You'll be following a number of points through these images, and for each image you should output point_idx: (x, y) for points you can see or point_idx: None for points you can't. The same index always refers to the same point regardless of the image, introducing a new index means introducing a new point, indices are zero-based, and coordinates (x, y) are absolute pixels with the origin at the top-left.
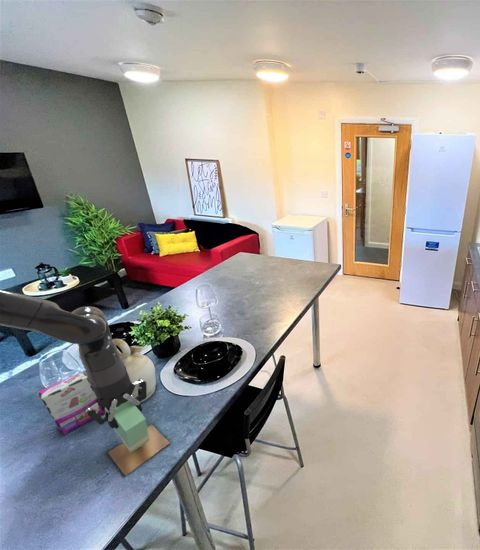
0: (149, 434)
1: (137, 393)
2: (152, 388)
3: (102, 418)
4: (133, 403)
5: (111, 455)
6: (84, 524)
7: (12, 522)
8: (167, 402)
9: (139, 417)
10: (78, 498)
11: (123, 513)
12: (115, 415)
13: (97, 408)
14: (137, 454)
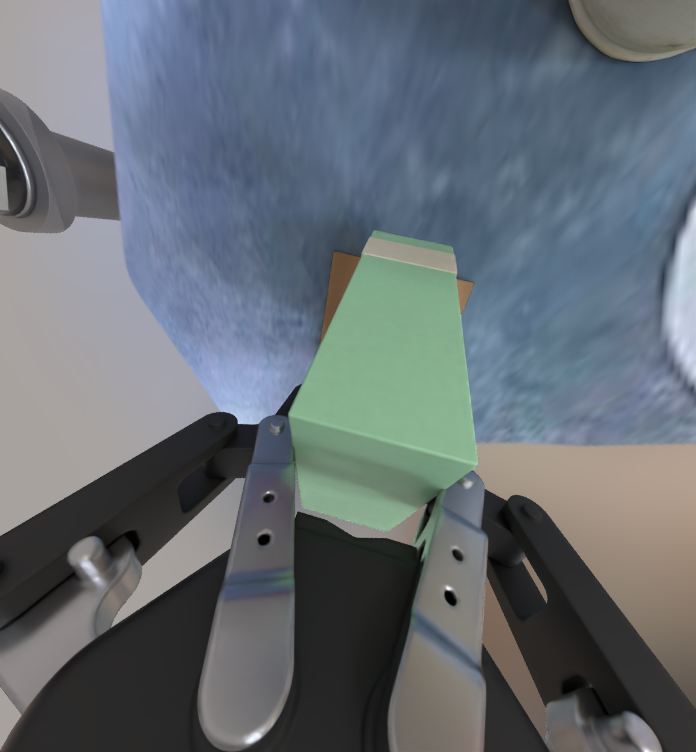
0: None
1: (685, 4)
2: None
3: (216, 490)
4: (416, 534)
5: (332, 276)
6: (229, 384)
7: (130, 226)
8: (613, 226)
9: (376, 522)
10: (237, 318)
11: None
12: (304, 473)
13: (106, 621)
14: None
